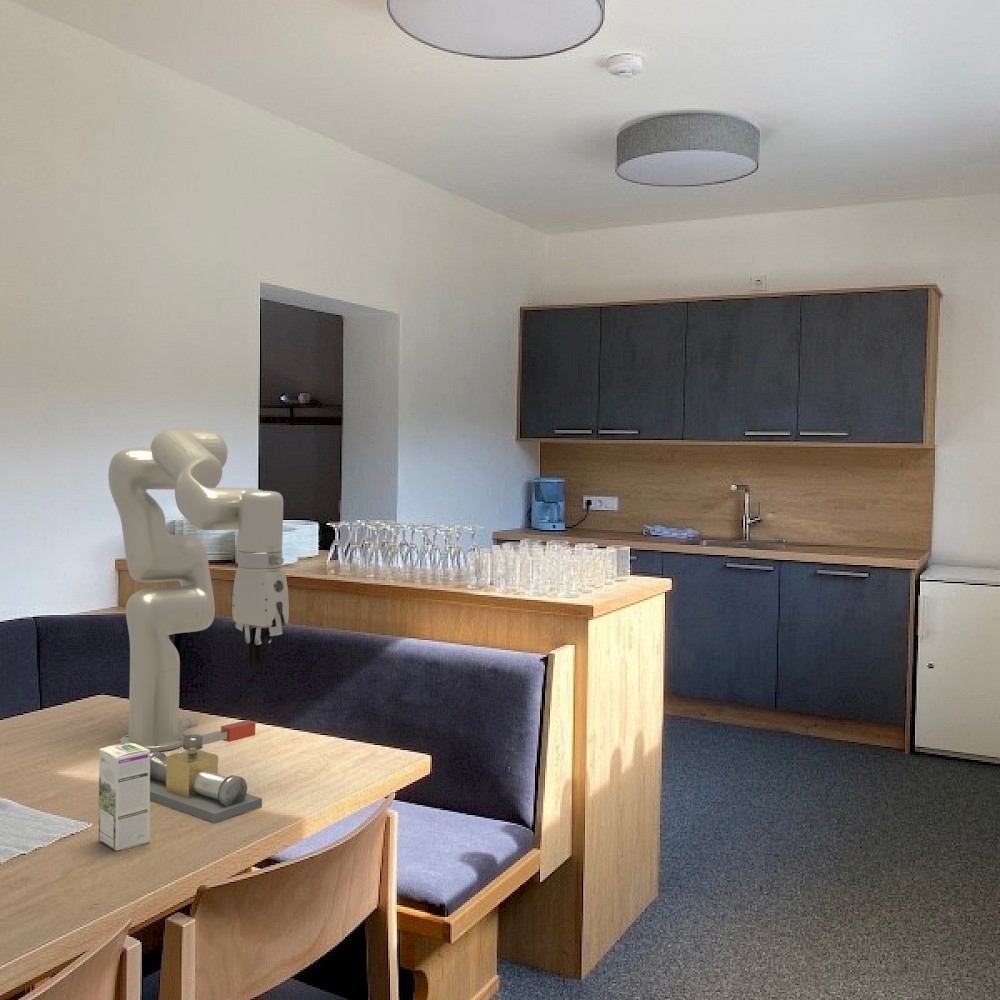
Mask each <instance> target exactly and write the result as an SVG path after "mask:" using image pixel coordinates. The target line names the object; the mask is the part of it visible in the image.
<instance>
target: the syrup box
mask: <svg viewBox="0 0 1000 1000" xmlns="http://www.w3.org/2000/svg"><path fill="white" fill-rule="evenodd" d="M98 751H99V752H98V754H99V755H98V757H99V759H98V760H99V761H98V766H99V767H98V771H99V772H98V842H100V843H102V844H103V845H105V846H107V847H109V848H110V849H111V850H114V851H122V850H127V849H130V848H134V847H138V846H141V845H144V844H147V843H150V835H151V834H150V831H151V830H150V826H151V825H150V824H151V823H150V819H151V813H150V812H151V808H150V807H151V801H150V750H148V749H146V748H144V747H142V746H140V745H137V744H135V743H133V742H131V743H122V744H120V743H116V744H112V745H109V746H106V747H105V746H104V747H103V748H102V747H101V748H99V750H98Z"/></svg>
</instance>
